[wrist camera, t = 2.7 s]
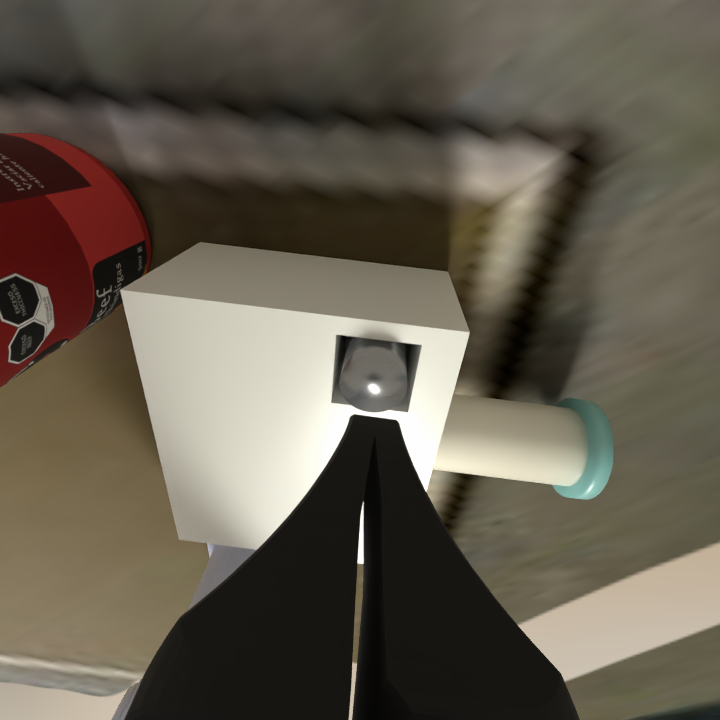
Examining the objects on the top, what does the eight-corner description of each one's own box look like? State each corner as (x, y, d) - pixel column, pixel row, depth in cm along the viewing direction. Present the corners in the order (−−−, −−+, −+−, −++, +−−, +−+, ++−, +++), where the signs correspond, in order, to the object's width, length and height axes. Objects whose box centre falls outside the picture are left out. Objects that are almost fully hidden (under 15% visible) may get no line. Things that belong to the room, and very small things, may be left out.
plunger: (400, 360, 18) (401, 416, 14) (348, 353, 18) (337, 407, 14) (409, 312, 17) (412, 361, 13) (352, 305, 17) (341, 352, 13)
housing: (402, 475, 26) (404, 569, 20) (224, 452, 26) (179, 539, 21) (447, 271, 19) (469, 332, 13) (200, 242, 19) (119, 290, 13)
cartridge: (549, 449, 23) (583, 521, 18) (262, 413, 23) (233, 476, 19) (581, 381, 20) (629, 446, 16) (259, 341, 20) (225, 396, 16)
